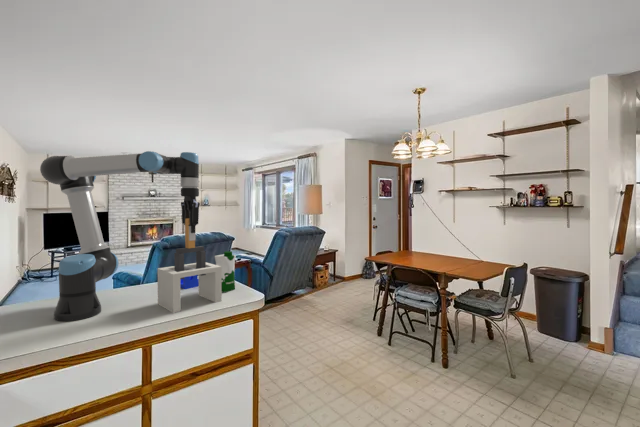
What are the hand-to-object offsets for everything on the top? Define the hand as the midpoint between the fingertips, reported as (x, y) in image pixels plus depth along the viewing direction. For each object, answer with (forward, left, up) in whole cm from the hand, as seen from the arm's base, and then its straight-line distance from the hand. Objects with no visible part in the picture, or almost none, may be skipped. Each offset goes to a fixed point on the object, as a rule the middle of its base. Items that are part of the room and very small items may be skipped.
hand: (190, 239), depth 144 cm
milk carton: (+22, +7, -29) cm, 37 cm away
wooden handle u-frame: (0, 0, -17) cm, 17 cm away
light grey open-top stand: (0, 0, -28) cm, 28 cm away
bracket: (+17, +27, -29) cm, 43 cm away
